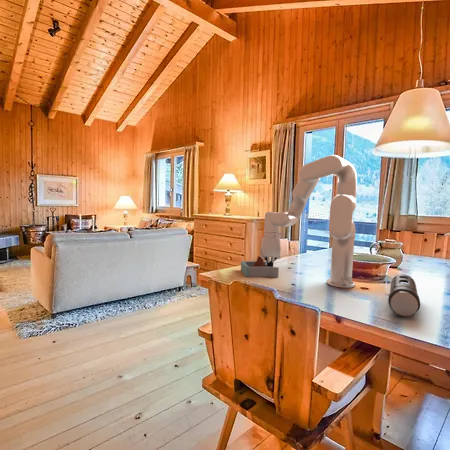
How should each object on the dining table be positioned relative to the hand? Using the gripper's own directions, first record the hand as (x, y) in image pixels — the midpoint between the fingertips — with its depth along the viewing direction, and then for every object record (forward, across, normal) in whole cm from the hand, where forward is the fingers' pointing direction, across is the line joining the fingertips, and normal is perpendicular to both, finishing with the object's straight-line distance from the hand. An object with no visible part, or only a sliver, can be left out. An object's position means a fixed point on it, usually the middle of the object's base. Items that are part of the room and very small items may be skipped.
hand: (269, 269), depth 167 cm
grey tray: (+2, +6, 0) cm, 6 cm away
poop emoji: (+2, +6, +1) cm, 6 cm away
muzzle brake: (+3, -37, +54) cm, 65 cm away
